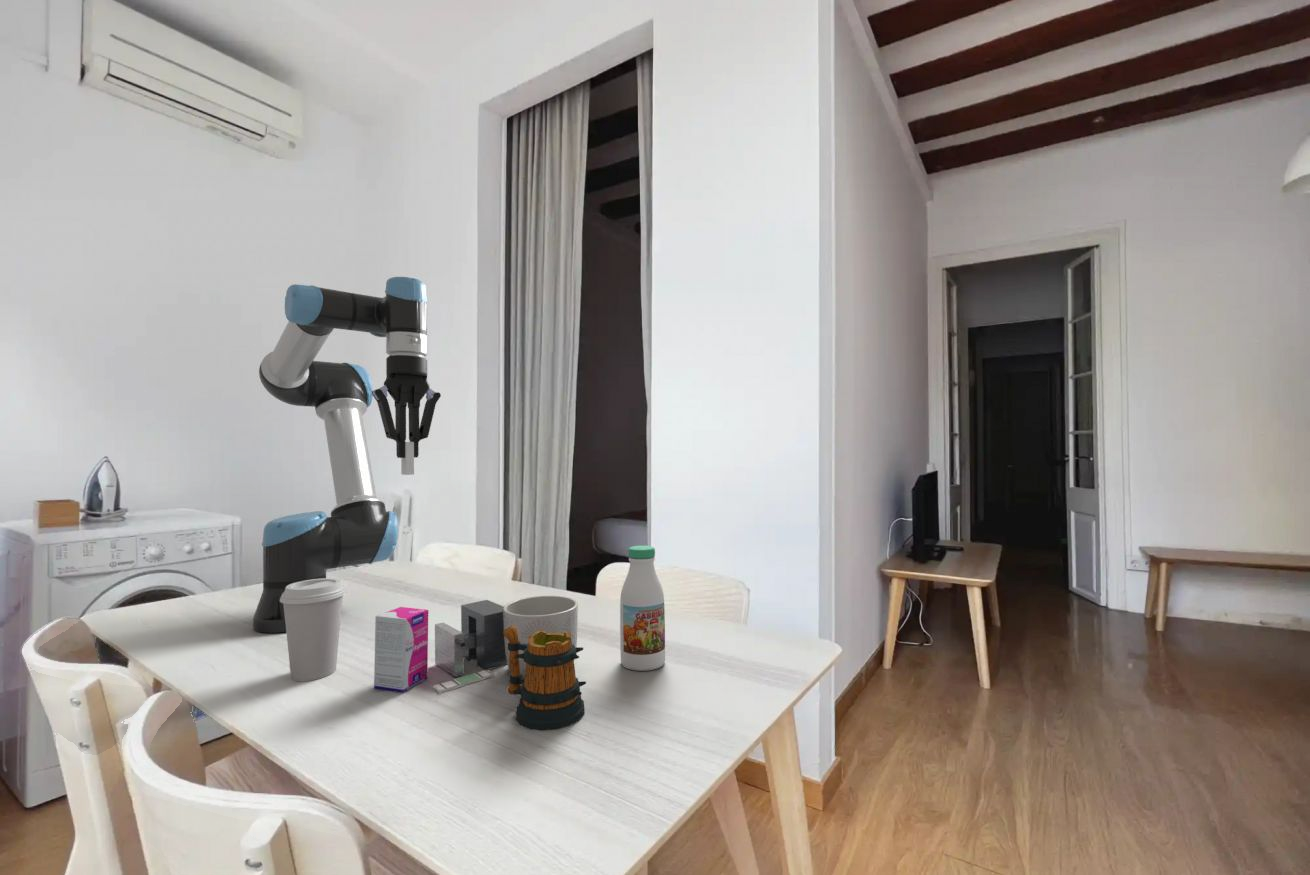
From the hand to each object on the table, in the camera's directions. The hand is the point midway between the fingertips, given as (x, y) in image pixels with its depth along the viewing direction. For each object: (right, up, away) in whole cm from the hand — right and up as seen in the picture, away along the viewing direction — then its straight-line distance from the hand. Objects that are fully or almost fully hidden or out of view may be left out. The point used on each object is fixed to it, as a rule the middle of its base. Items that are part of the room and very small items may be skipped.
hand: (407, 474), depth 113 cm
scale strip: (+19, -32, -22) cm, 43 cm away
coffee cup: (-8, -33, -18) cm, 38 cm away
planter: (+30, -32, -18) cm, 48 cm away
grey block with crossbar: (+19, -32, -15) cm, 40 cm away
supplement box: (+9, -32, -23) cm, 40 cm away
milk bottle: (+47, -32, -15) cm, 59 cm away
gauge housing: (+20, -32, -13) cm, 40 cm away
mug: (+33, -32, -33) cm, 56 cm away
